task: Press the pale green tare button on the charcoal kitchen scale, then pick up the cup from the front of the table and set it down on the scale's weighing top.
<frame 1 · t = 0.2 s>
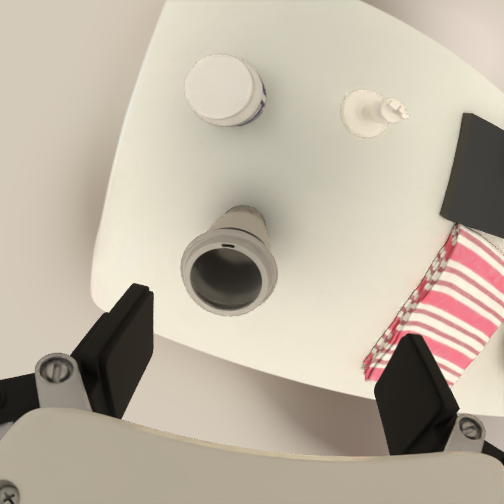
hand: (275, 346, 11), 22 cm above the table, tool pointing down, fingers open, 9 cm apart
scale: (489, 179, 28), on the table
chess piece: (364, 113, 27), on the table
cup: (243, 226, 33), on the table
dish towel: (449, 319, 35), on the table
pill bottle: (236, 98, 28), on the table
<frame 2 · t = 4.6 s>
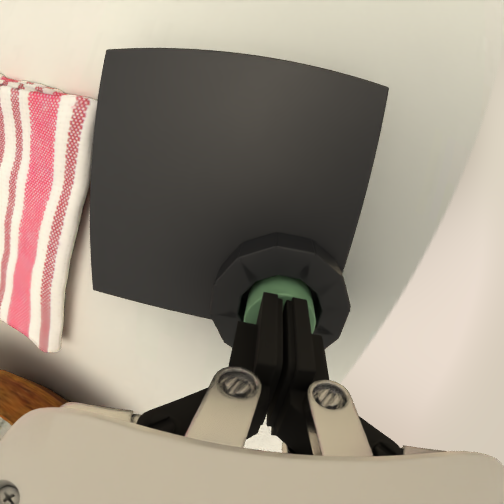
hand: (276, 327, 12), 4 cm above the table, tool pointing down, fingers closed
scale: (222, 187, 14), on the table
bowl: (58, 417, 25), on the table
tare button: (279, 312, 13), point 3 cm above the table, slide at -0.4 cm, touching gripper
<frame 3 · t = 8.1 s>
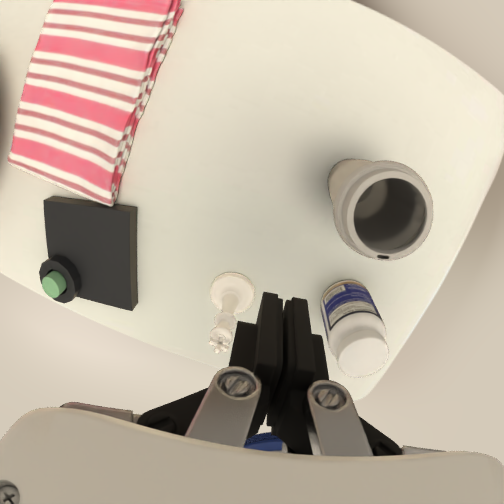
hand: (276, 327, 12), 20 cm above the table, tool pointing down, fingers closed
scale: (92, 249, 34), on the table
tare button: (54, 284, 32), point 4 cm above the table, slide at 0.1 cm
chess piece: (232, 291, 35), on the table
cup: (350, 181, 29), on the table
dish towel: (84, 85, 27), on the table
pill bottle: (344, 299, 34), on the table
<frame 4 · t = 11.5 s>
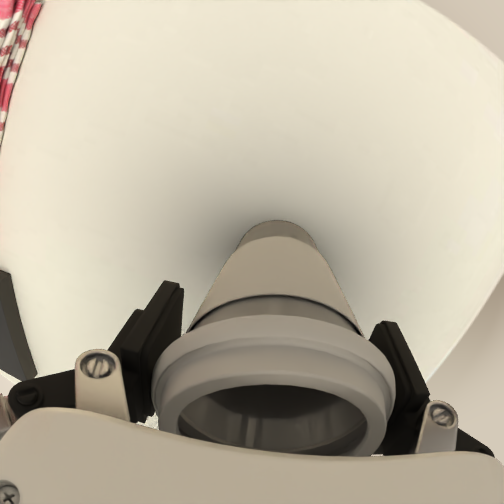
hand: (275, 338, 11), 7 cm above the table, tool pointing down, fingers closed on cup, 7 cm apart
cup: (277, 257, 18), on the table, touching gripper
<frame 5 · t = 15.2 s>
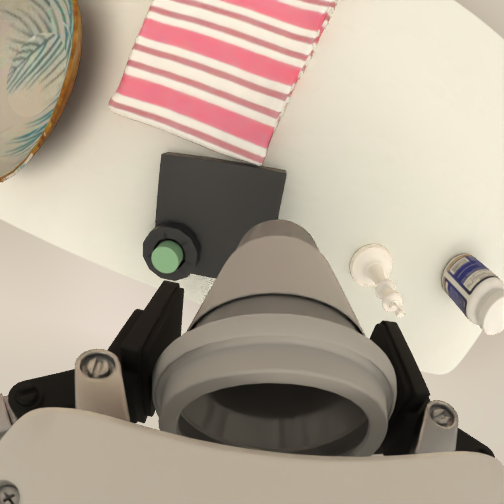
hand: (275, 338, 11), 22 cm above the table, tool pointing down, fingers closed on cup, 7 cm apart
scale: (217, 217, 32), on the table
bowl: (35, 74, 27), on the table
tare button: (167, 256, 30), point 4 cm above the table, slide at 0.1 cm
chess piece: (370, 264, 33), on the table
cup: (277, 257, 18), point 14 cm above the table, touching gripper
dish towel: (227, 33, 25), on the table
pill bottle: (458, 272, 33), on the table
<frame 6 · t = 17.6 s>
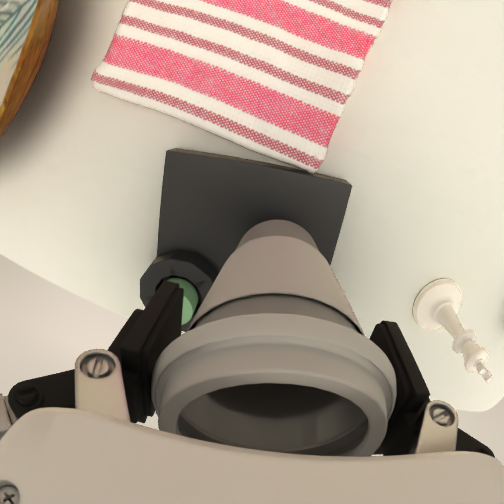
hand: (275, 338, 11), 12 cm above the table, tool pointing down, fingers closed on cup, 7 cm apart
scale: (245, 243, 23), on the table
bowl: (5, 49, 17), on the table
tare button: (175, 301, 21), point 4 cm above the table, slide at 0.1 cm
chess piece: (436, 302, 24), on the table
cup: (277, 257, 18), point 5 cm above the table, touching gripper
when the fingers open (9 cm above the table, at t = 19.2 s): cup stays where it is, resting on scale.
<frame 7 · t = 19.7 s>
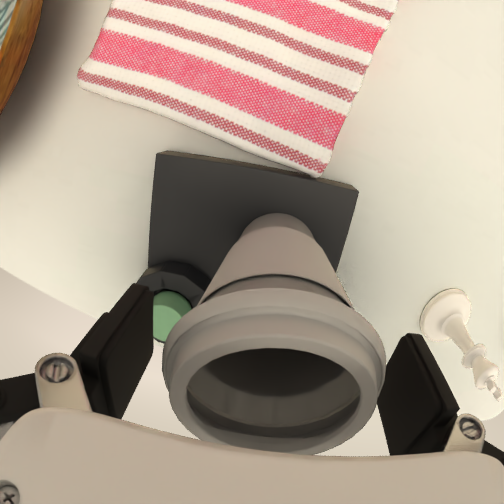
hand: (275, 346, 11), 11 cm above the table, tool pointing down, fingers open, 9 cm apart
scale: (242, 252, 21), on the table
tare button: (167, 316, 19), point 4 cm above the table, slide at 0.1 cm
chess piece: (444, 313, 22), on the table
cup: (277, 248, 19), point 2 cm above the table, touching scale
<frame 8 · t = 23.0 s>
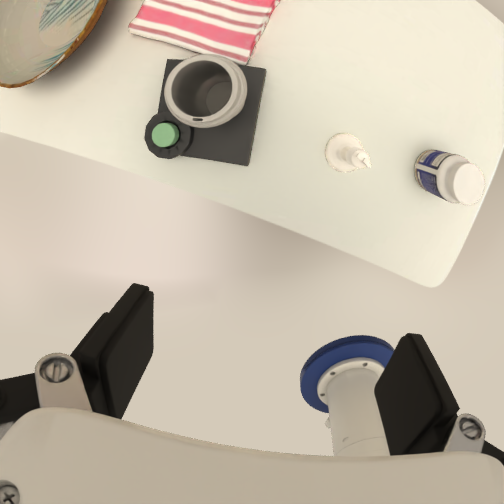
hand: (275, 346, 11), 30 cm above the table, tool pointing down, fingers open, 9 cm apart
scale: (209, 110, 36), on the table
bowl: (66, 14, 30), on the table
tare button: (165, 134, 33), point 4 cm above the table, slide at 0.1 cm
chess piece: (344, 152, 37), on the table
cup: (225, 100, 33), point 2 cm above the table, touching scale
pill bottle: (430, 169, 36), on the table
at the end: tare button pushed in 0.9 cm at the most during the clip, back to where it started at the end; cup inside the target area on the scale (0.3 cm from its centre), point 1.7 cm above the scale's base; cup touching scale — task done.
